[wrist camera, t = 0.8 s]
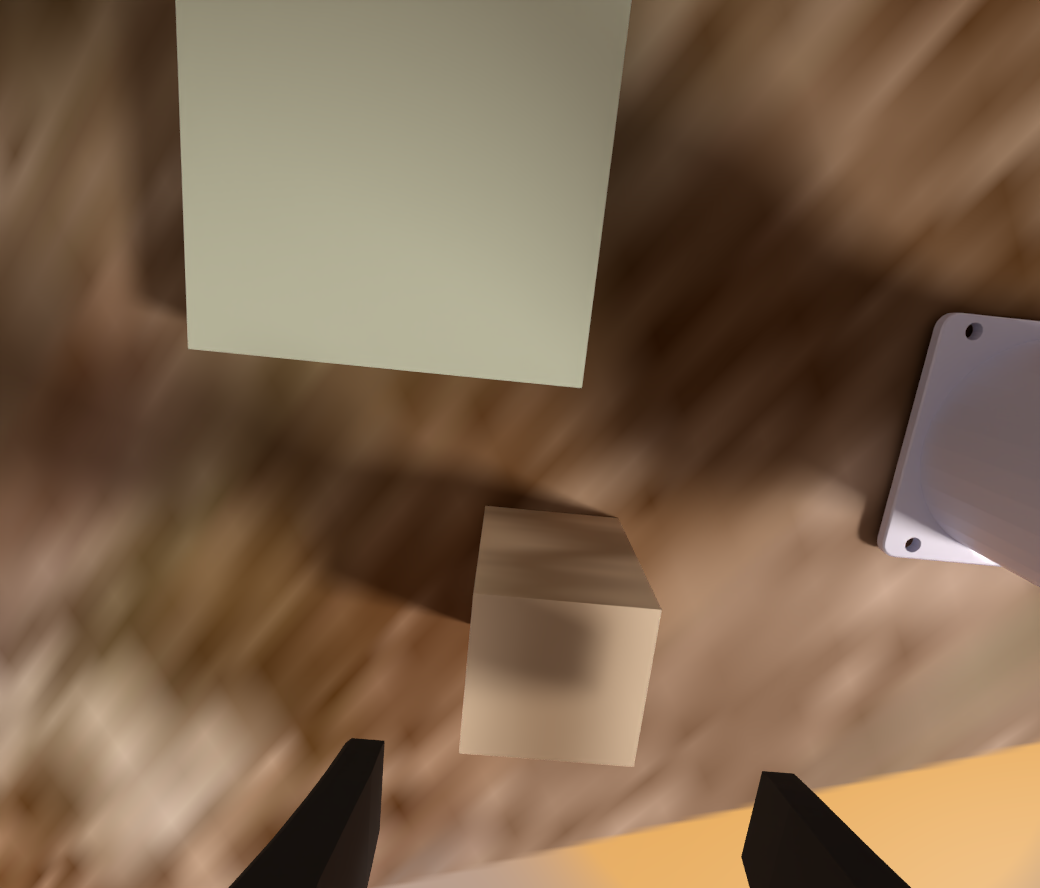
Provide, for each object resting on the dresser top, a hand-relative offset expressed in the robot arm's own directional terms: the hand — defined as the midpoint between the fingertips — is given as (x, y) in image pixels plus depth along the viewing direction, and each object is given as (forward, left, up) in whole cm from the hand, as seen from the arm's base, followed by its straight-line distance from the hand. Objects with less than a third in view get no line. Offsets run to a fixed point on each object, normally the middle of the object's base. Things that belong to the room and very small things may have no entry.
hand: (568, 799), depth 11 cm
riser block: (+5, -12, -9) cm, 16 cm away
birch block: (0, 0, -10) cm, 10 cm away
